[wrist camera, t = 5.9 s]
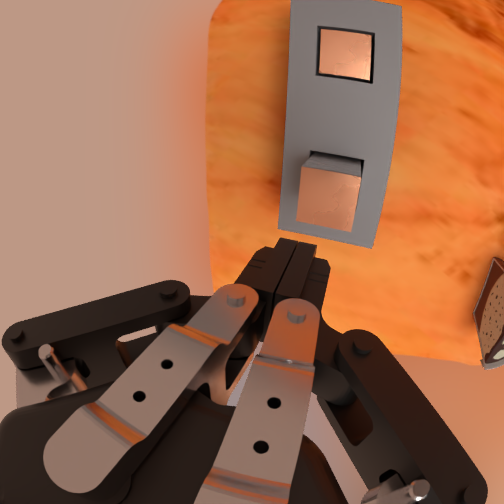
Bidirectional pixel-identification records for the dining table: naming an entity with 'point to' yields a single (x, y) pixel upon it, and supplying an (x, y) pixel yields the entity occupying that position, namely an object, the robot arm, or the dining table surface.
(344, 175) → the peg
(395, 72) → the guide block
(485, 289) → the half cake
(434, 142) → the dining table surface
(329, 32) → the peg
